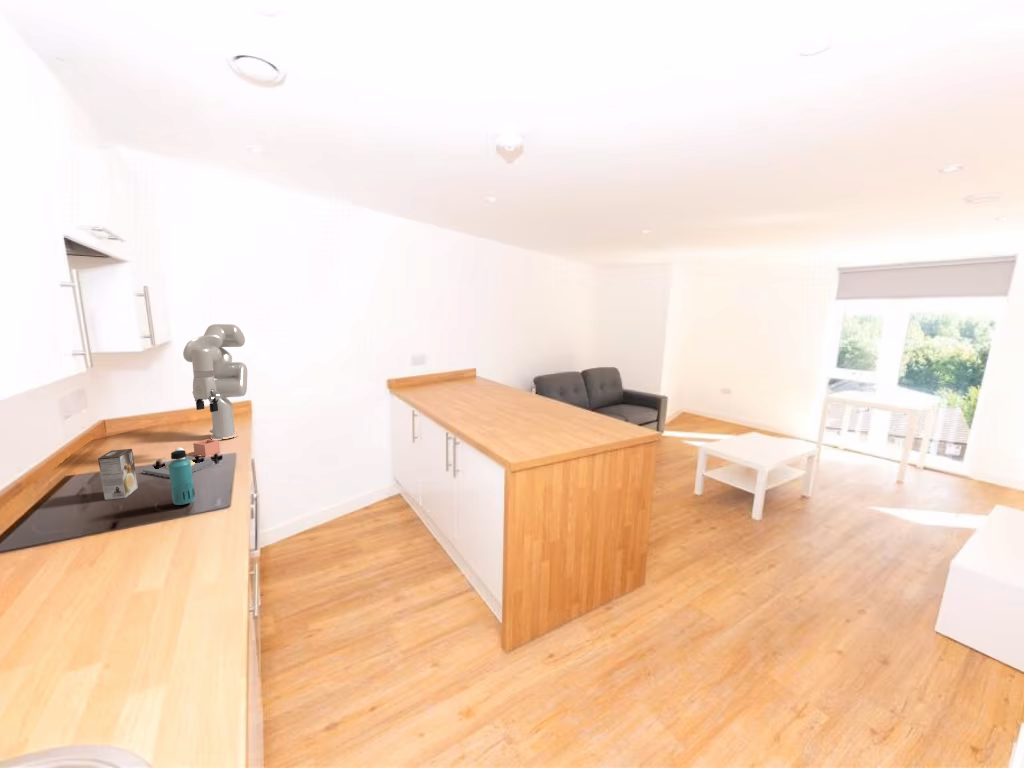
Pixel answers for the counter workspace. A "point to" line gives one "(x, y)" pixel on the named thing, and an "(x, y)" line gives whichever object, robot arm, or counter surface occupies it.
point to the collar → (206, 447)
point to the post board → (166, 471)
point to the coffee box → (118, 474)
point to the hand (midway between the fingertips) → (207, 410)
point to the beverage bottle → (181, 479)
